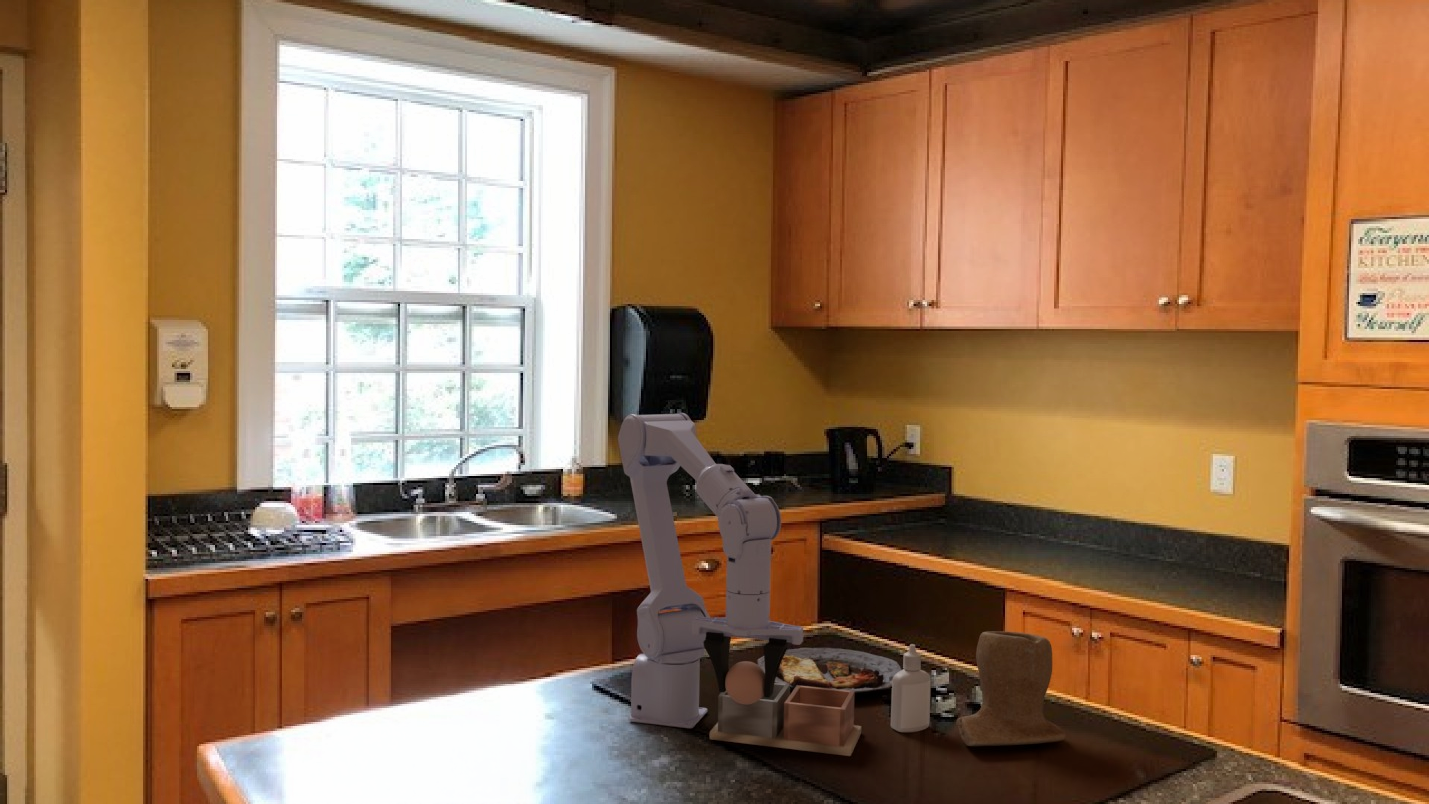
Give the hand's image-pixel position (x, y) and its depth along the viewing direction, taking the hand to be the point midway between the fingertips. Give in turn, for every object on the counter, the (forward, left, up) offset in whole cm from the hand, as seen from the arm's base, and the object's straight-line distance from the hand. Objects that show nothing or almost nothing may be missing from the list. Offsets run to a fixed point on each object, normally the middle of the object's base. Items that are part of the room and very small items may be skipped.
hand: (745, 692), depth 150 cm
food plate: (+5, +37, -9) cm, 39 cm away
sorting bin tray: (+4, +9, -9) cm, 13 cm away
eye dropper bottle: (+20, +18, -9) cm, 28 cm away
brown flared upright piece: (+33, +18, -9) cm, 38 cm away
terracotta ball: (0, 0, +1) cm, 1 cm away
